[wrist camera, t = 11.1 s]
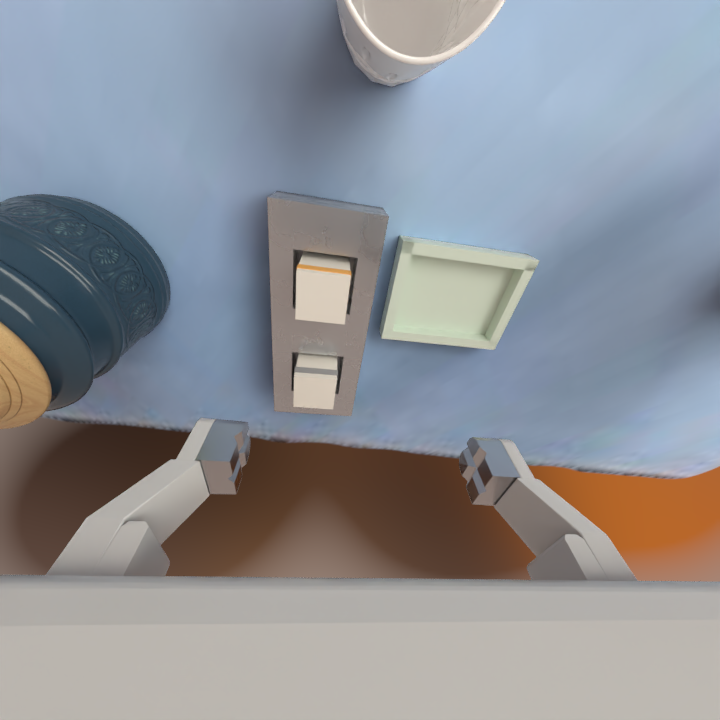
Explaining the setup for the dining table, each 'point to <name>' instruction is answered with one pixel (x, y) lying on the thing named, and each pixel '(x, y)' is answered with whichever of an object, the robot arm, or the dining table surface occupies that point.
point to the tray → (453, 293)
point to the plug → (322, 287)
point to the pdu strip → (286, 245)
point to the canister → (69, 300)
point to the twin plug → (315, 381)
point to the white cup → (410, 34)
